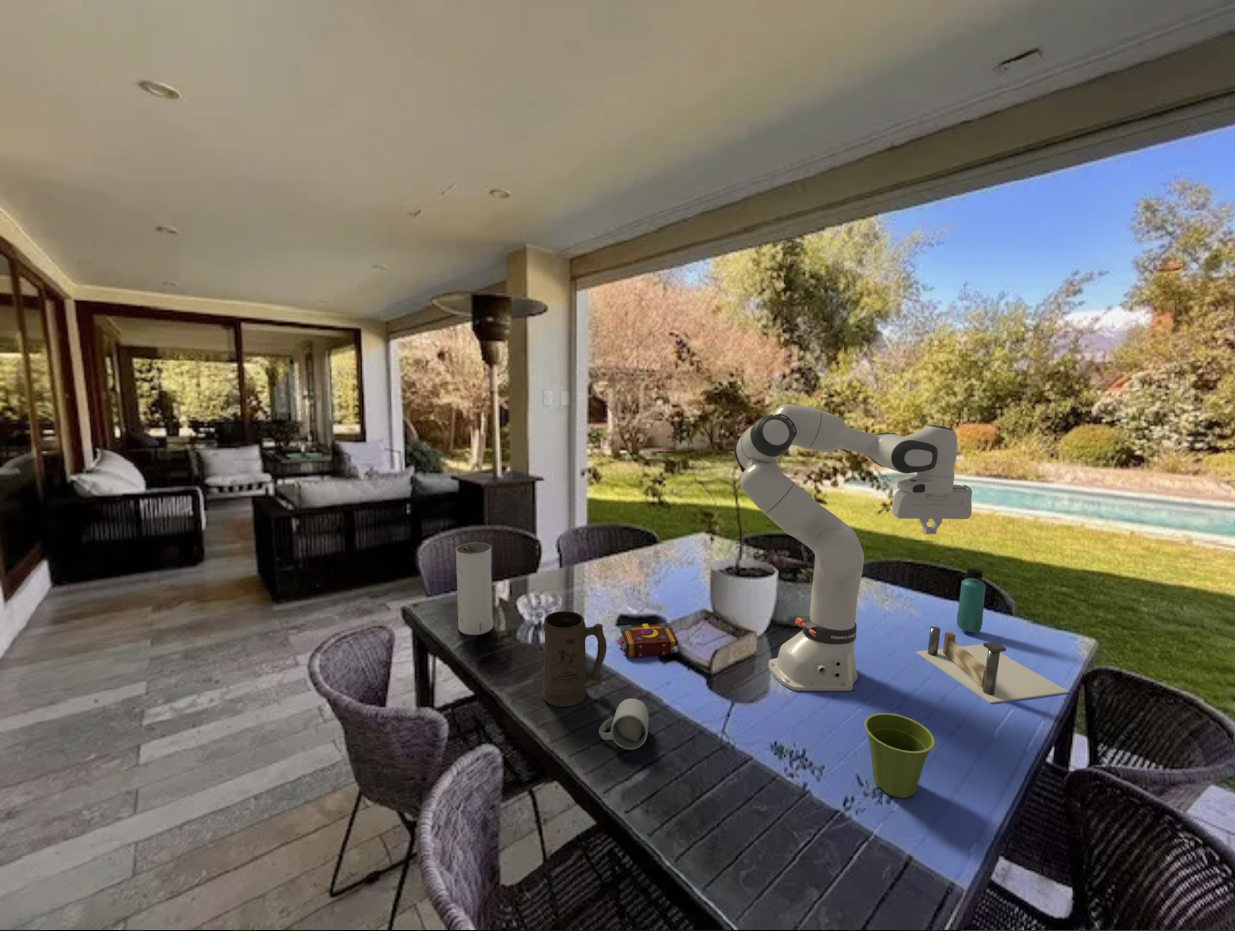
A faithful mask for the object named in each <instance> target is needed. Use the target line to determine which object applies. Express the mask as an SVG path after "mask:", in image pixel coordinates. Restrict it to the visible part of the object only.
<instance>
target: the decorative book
mask: <svg viewBox="0 0 1235 931" xmlns="http://www.w3.org/2000/svg"><path fill="white" fill-rule="evenodd" d="M619 629H620V633H621V636H619V639H617V644H618V646H620V645H621V648H622V651H623V652H624V655H625V658H637V659H639V658H645V657H648V656H649V657H651V656H652V657H653V656H660V657H664V656H663V655H667V654H669V653H670V652H671V651H672V648H673V647H675V646H677V645H678V646H679V639H678V638H677V636H676V634H675V632H674V630H673V627H672V625H671V623H670V622H667V623H666V622H665V623H664V622H663V623H662V622H661V623H656V624H649V623H642V624H641V625H639V624H638V625H633V624H628V625H627V624H626V625H619ZM669 655H670V654H669Z"/></svg>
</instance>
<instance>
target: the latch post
mask: <svg viewBox="0 0 1235 931" xmlns="http://www.w3.org/2000/svg"><path fill="white" fill-rule="evenodd" d="M940 635H941V628H940V627H938V626H930V628H929V637H928V638H929V639H928V646H927V650H928V654H929V655H932V656H937V655H938V649H939V645H940Z"/></svg>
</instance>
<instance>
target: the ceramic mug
mask: <svg viewBox="0 0 1235 931" xmlns="http://www.w3.org/2000/svg"><path fill="white" fill-rule="evenodd" d="M649 716H650V715H649V710H648V707H647V706H646V705H645V703H644V702H643V701H641V700H639V699H637V698H631V697H630V698H627V699H624V700H623V701H622V702H620V703H619V705H618V706H617V708H616V710H615V713H614V716H613V717H610V718H609V719H606V720H605V721H604V722H603V723H602V724H601V725H600V727H599V729H598V734H599V736H600V737H601V740H604V741H609V740H610V741H611V740H613V743H615V745H617V746H618V747H619V748H622V749H624V750H637V749H638V748H640V747H642V745H644V744H645V742H646V741H647V738H648V732H649V731H648V730H649V721H650V720H649V719H650V717H649ZM610 727H611V728H610ZM609 728H610V731H609V732H606V730H607V729H609Z"/></svg>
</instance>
